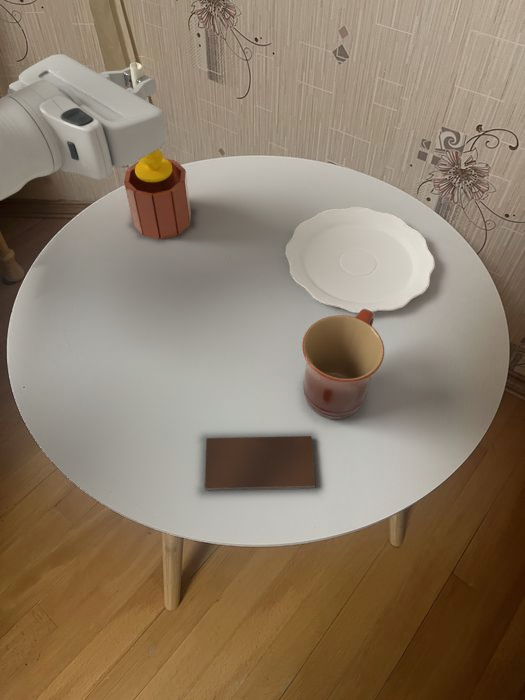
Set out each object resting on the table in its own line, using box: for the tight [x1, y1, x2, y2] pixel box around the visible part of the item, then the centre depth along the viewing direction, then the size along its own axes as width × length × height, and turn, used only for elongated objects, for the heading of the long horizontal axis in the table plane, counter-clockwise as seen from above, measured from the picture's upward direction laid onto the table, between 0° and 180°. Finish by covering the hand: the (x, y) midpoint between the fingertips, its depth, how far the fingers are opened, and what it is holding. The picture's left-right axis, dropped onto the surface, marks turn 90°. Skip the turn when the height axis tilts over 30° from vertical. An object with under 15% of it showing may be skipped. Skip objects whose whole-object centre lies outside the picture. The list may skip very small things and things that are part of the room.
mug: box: [301, 309, 385, 420], centre depth 65 cm, size 12×9×10 cm
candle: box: [129, 60, 172, 182], centre depth 74 cm, size 5×5×16 cm
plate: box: [284, 206, 436, 314], centre depth 81 cm, size 21×21×2 cm
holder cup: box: [123, 157, 192, 240], centre depth 84 cm, size 9×9×8 cm
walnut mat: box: [204, 435, 316, 491], centre depth 63 cm, size 12×6×1 cm, turn 92°
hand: (144, 78), depth 70 cm, fingers closed on candle
